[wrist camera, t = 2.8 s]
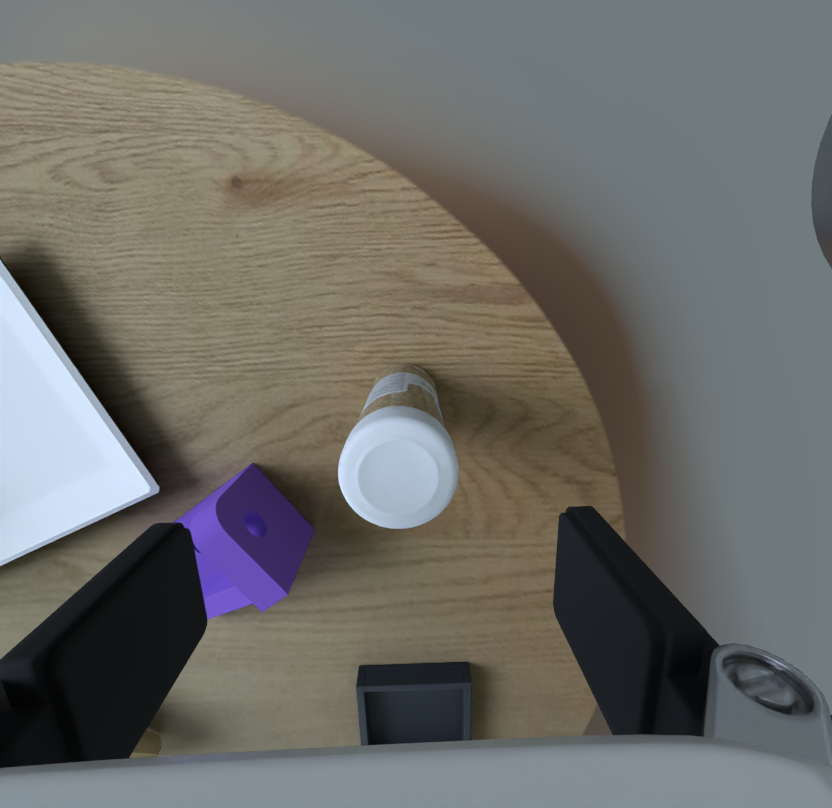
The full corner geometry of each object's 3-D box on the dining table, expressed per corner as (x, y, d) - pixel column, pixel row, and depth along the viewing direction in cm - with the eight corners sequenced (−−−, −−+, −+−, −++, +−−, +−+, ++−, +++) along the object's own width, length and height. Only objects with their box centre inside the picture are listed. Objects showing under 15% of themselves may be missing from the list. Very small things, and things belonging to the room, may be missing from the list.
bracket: (252, 462, 29) (205, 511, 22) (314, 529, 30) (288, 594, 23) (136, 550, 30) (59, 621, 24) (200, 610, 32) (144, 692, 25)
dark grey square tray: (467, 661, 34) (471, 682, 32) (467, 743, 36) (470, 766, 34) (359, 665, 33) (356, 686, 32) (365, 746, 36) (363, 771, 34)
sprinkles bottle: (446, 410, 28) (478, 507, 15) (387, 435, 28) (367, 550, 15) (420, 350, 27) (431, 399, 14) (359, 377, 27) (313, 448, 14)
